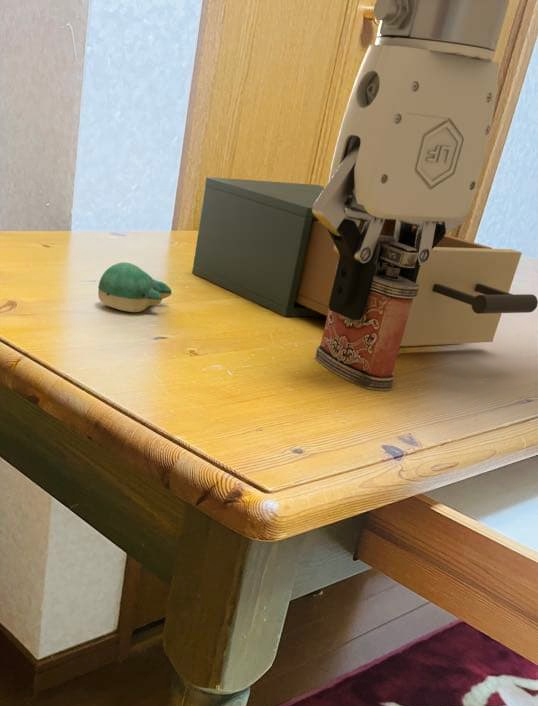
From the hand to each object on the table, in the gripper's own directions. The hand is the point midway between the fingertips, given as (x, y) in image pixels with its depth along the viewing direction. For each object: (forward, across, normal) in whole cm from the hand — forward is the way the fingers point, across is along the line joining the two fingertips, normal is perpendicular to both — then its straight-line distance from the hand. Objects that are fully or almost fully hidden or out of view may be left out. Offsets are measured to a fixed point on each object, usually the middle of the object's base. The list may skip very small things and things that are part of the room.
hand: (367, 311), depth 63 cm
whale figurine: (+5, -9, +19) cm, 22 cm away
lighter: (+5, 0, 0) cm, 5 cm away
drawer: (+4, +12, +8) cm, 15 cm away
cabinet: (+5, +12, +23) cm, 26 cm away
